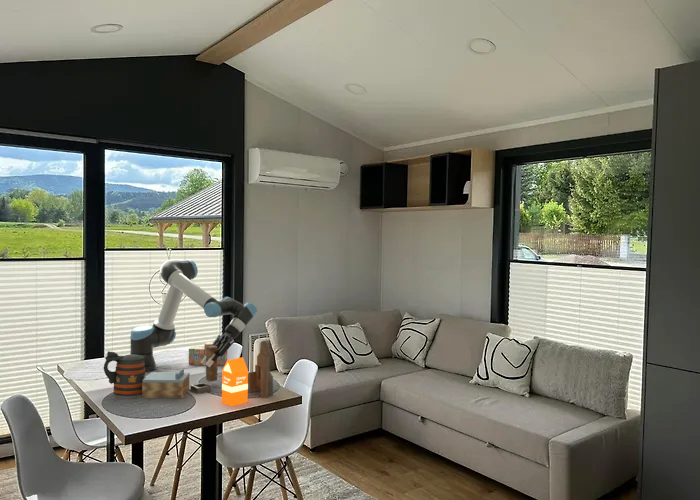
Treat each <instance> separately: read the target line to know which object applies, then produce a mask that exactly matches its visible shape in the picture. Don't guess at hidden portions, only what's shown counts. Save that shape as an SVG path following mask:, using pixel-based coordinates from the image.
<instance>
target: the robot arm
mask: <svg viewBox="0 0 700 500" xmlns="http://www.w3.org/2000/svg"><path fill="white" fill-rule="evenodd" d="M159 272H160V277H161V279H162V280H163V281H164V282H165V283H166V284H168V285H169V286H168V288H167V291H166V293H165V297H164V301H163V304H162V306H161V310H160V312H159V315H158V318H157V319H156V320H154V322H153V325H139V326H136V327H134V328H132V329H131V331H130V337H129V338H130V354H136V355H142V356H143V355H146V358H145V361H144V362H145V373H147V372H153V371H155V370H156V369H157V363H156V361H155V358H154V349H155V348H156V349H157V348H159V347H165V346H167V345H171V344H172V343H173V342H174V341H175V339H176V336H177V332H176V328H175V323H174V322H175V318H176V315H177V312H178V310H179V307H180V304H181V301H182V299H183V295H185V296H187V297H188V298H189V299H190V300H192V301H193V302H194V303H195V304H196V305H199V307H200V308H202V309H203V312H204V314H205V316H207V318H208V317H209V318H217V317H221V316H225V315H226V316H228V315H231V316H234V317H233V318H232V319H231V321H230V322H229V324H227V326H226V327H225V328H224V333H223V334H221V335H220V334H218V335H217V337H216V338H215V340H214V341H213V344H212V345H211V346H217V352H214V353H215V354H213V355H212V357H211V358H210V359H209V360H208V361H207V363H206V357H205V358H204V359H203V360H202V361H201V363H202V364H203V365H202V366H206V365H207V366H208V367H210V366H211V365H212V364H213V363H214V361H215V360H216V359H217V358H218V357H220V356H223V355H224V353H225V352H226V351H227V352H228V350H229V349H230V348H231V347H232V345H233V344H235V342H236V341H235V340H234V339H237V337H238V336H239V335H240V334H241V332H242V331H243V330H244V329H245V328H246V326H247V325H248V324H249V322H251V320H252V319H253V318H254V317H255V315H256V314H257V312H258V309H257V306H255V305H254V304H253V303H251V302H249V301H247V302H246V303H241V302H239V301H237V300H235V299H234V298H232V297H229V296H224V297H223V298H222V299H221V300H217V299H216V298H215V297H213V296H212V295H210V293H208V292H207V291H205V290H204V289H202V288H201V287H200V286H199V285H197V283H195V282H194V281H192V280H194V279H195V278H196V277H197V275H198V272H199V271H198V266H197V264H196V263H195V261H194V260H192V259H189V258H180V259H179V258H178V259H168V260H166V261H164V262H163V263H162V264H161V266H160V271H159Z"/></svg>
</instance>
